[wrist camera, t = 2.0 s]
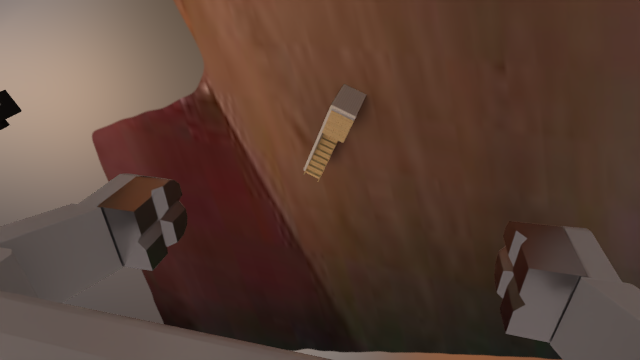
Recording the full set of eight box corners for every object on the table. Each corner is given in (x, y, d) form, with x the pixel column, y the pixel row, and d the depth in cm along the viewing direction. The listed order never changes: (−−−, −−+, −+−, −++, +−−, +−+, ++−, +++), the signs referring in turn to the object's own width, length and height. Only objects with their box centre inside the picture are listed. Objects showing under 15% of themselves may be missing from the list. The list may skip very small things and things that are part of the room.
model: (367, 93, 49) (354, 120, 43) (337, 154, 56) (322, 184, 50) (344, 82, 49) (329, 108, 43) (317, 144, 56) (300, 174, 50)
